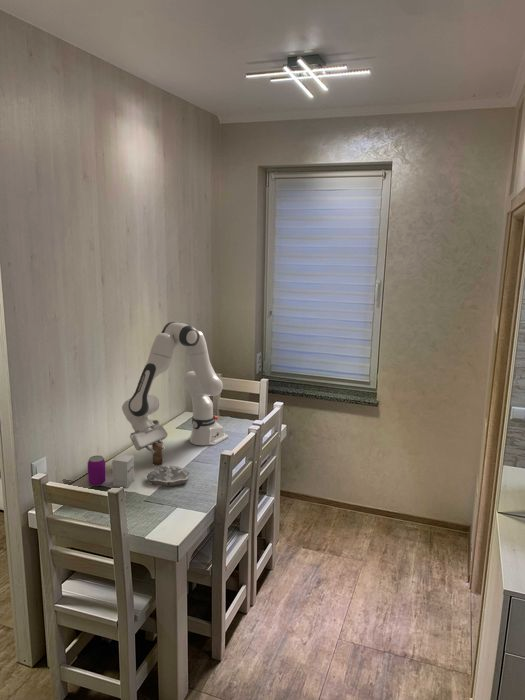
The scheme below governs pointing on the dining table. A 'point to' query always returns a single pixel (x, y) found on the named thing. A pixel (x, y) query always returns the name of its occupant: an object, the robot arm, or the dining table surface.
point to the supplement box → (123, 470)
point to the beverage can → (96, 471)
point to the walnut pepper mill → (157, 454)
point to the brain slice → (168, 476)
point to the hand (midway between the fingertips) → (158, 450)
